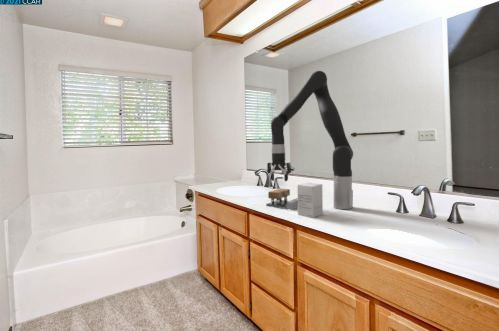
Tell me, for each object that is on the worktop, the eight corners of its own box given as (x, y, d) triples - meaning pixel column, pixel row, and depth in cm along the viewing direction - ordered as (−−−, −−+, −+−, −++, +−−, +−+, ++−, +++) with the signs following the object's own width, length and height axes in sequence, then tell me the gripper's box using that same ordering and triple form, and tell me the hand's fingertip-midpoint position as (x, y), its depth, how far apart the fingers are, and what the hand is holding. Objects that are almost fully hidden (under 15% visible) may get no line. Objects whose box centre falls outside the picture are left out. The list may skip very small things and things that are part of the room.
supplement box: (307, 211, 141) (307, 182, 140) (323, 214, 135) (323, 184, 134) (297, 214, 135) (296, 184, 134) (312, 217, 129) (312, 186, 128)
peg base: (291, 203, 162) (291, 195, 161) (280, 207, 150) (280, 199, 150) (278, 201, 167) (278, 194, 167) (266, 205, 156) (266, 197, 155)
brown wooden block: (280, 194, 166) (280, 188, 165) (289, 195, 162) (289, 189, 162) (268, 198, 154) (268, 192, 154) (278, 199, 151) (278, 193, 151)
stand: (298, 204, 158) (298, 197, 157) (303, 205, 156) (303, 198, 156) (286, 209, 146) (286, 201, 146) (292, 210, 144) (292, 202, 144)
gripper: (292, 152, 155) (293, 180, 156) (270, 152, 163) (271, 179, 164) (286, 152, 149) (287, 182, 150) (264, 152, 157) (265, 181, 158)
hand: (279, 180), depth 157 cm, fingers open, 8 cm apart
